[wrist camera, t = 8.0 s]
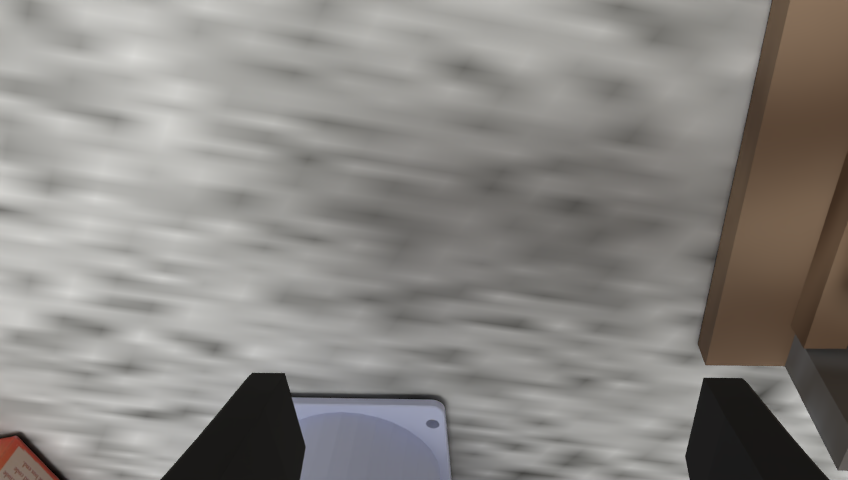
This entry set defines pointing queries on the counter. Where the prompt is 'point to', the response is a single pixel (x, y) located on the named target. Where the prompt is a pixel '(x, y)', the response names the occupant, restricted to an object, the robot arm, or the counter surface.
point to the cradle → (791, 220)
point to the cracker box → (21, 462)
